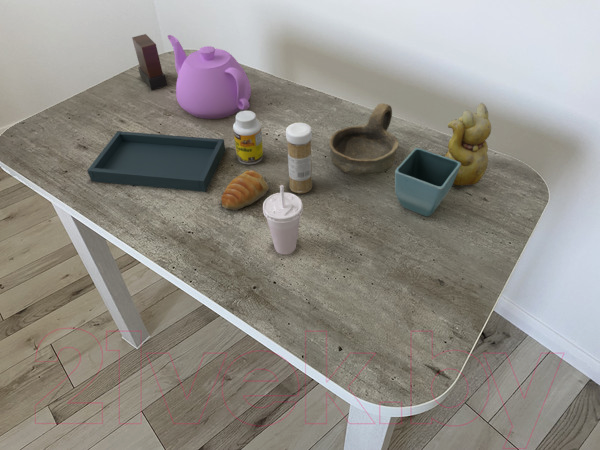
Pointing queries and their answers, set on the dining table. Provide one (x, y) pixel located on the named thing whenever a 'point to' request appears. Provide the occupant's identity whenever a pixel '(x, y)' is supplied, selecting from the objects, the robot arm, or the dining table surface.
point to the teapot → (210, 82)
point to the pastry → (244, 190)
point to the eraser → (149, 62)
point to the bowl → (365, 145)
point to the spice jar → (299, 157)
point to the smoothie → (283, 219)
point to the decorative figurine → (470, 145)
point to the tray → (158, 161)
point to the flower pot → (424, 180)
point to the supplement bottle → (248, 138)
